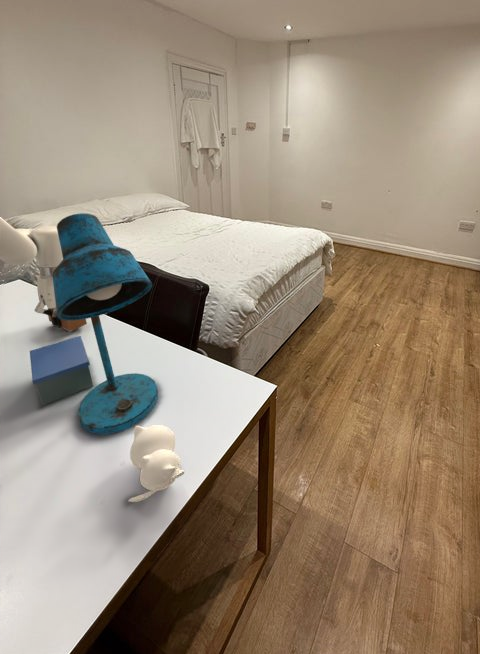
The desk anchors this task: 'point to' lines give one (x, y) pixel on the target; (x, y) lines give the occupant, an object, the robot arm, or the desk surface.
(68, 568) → the desk surface
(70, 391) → the container
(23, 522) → the desk surface
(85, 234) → the desk lamp
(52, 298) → the robot arm
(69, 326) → the block
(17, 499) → the desk surface
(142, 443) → the cat figurine
